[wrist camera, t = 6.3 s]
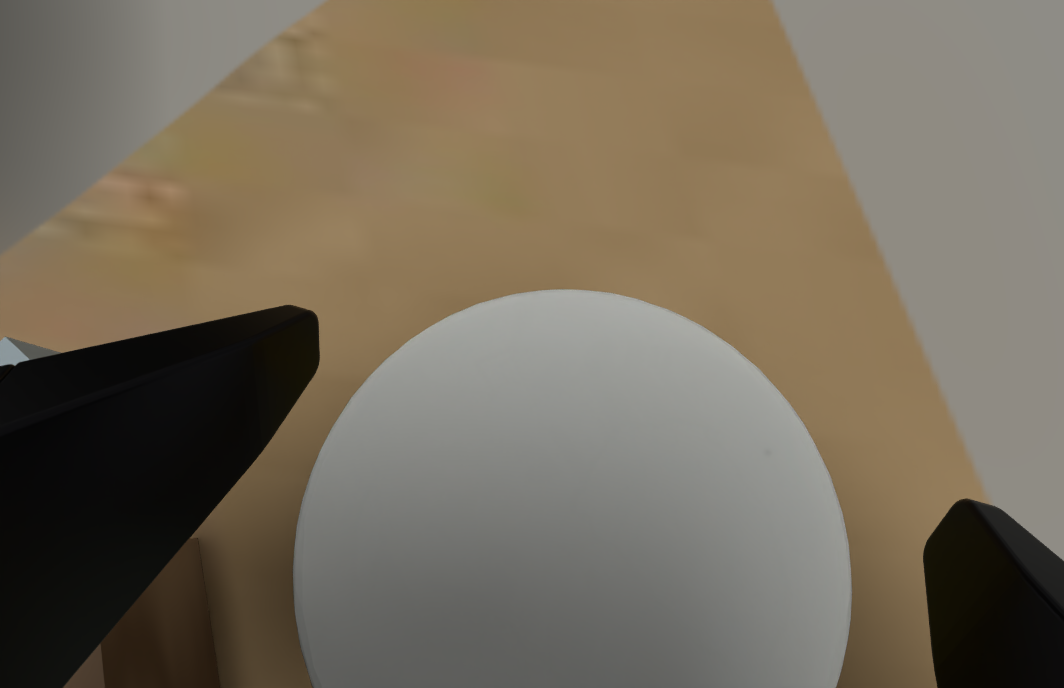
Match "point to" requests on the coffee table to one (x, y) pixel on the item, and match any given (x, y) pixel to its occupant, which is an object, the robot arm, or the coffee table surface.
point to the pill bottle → (570, 512)
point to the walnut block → (159, 635)
